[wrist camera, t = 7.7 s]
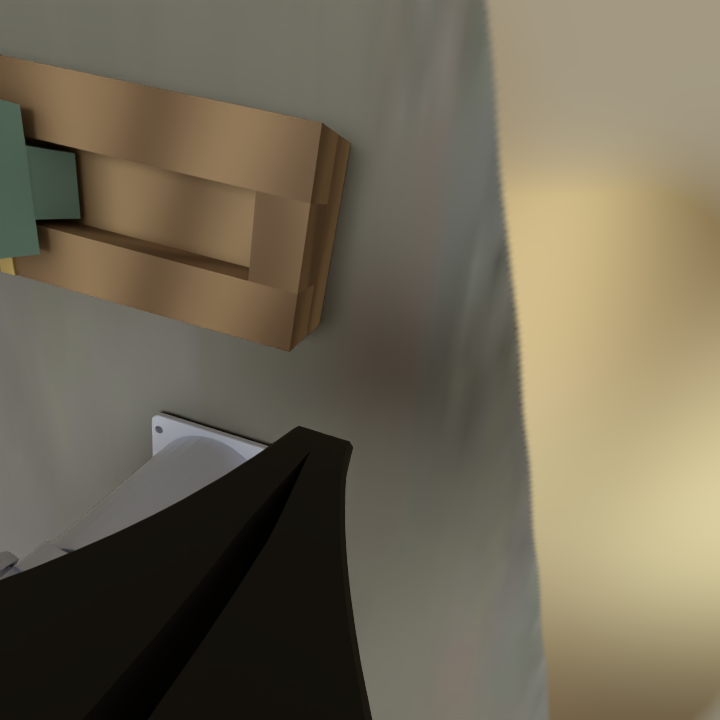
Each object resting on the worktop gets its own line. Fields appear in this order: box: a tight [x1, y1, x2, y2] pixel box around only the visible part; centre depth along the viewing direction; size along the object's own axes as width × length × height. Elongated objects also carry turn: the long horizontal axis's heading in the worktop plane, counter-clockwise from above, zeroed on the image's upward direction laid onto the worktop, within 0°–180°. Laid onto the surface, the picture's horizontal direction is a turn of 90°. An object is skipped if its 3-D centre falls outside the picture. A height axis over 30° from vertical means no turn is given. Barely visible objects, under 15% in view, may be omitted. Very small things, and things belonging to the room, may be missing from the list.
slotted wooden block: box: [0, 55, 351, 352], centre depth 15 cm, size 24×8×6 cm, turn 78°
